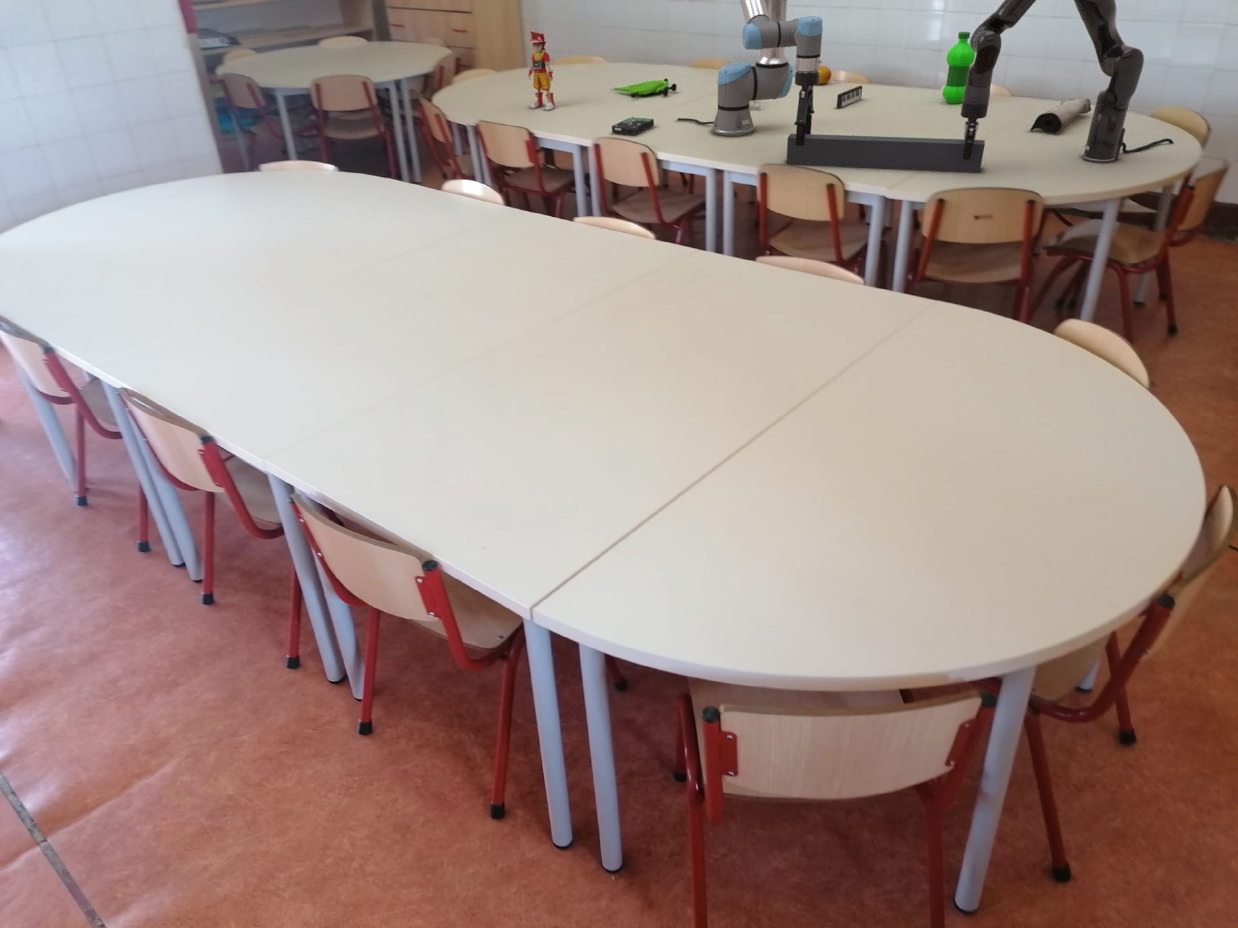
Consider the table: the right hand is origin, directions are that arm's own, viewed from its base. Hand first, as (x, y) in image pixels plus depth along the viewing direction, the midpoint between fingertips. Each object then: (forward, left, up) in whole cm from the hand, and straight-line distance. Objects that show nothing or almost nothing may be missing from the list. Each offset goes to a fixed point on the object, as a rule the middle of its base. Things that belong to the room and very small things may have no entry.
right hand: (966, 156), depth 283 cm
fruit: (+9, -131, -4) cm, 131 cm away
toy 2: (+88, -141, -4) cm, 166 cm away
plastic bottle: (-31, -83, -4) cm, 88 cm away
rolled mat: (-53, -42, -4) cm, 68 cm away
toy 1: (+132, -126, -4) cm, 183 cm away
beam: (+24, -11, -4) cm, 26 cm away
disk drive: (+98, -79, -4) cm, 126 cm away
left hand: (+47, -21, +3) cm, 52 cm away
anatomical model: (+49, -101, -4) cm, 113 cm away
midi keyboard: (+9, -93, -4) cm, 93 cm away
